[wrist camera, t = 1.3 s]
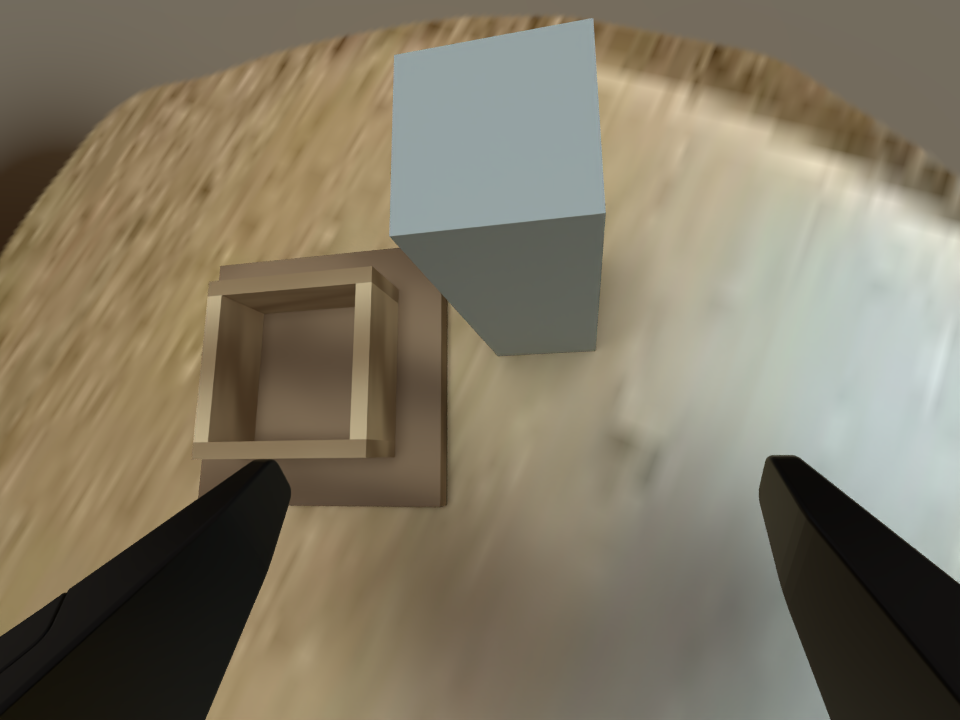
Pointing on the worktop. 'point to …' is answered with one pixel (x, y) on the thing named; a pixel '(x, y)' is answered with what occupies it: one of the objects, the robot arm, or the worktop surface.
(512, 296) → the slate peg
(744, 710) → the worktop surface
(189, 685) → the robot arm
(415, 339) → the pocket board
